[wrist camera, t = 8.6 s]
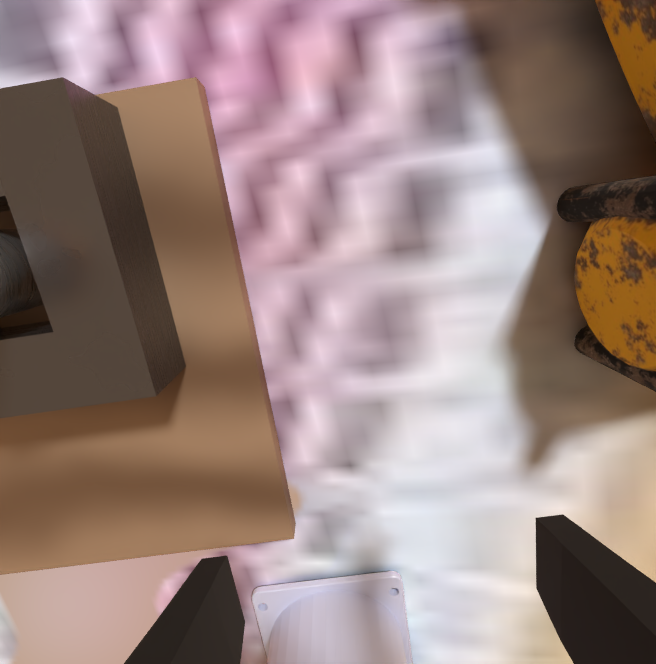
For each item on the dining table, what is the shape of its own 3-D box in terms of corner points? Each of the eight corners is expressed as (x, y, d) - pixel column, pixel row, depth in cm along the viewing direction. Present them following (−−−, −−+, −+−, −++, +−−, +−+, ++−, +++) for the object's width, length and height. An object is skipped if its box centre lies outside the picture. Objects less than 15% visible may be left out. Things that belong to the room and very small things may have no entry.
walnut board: (295, 523, 20) (293, 538, 19) (-3, 560, 21) (-19, 577, 20) (204, 86, 15) (195, 77, 14) (-192, 155, 15) (-227, 151, 14)
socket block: (186, 366, 17) (156, 396, 14) (-37, 398, 17) (-111, 434, 14) (117, 107, 14) (62, 77, 11) (-144, 152, 14) (-262, 135, 12)
